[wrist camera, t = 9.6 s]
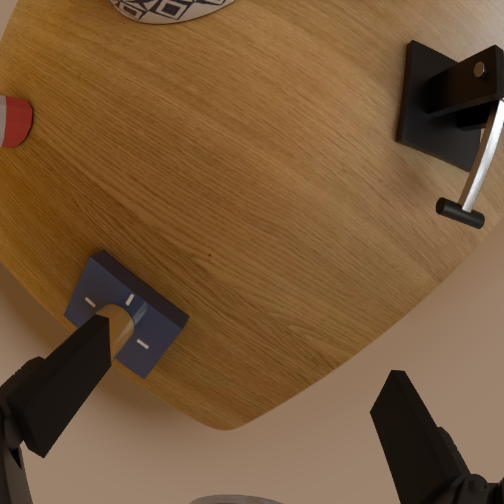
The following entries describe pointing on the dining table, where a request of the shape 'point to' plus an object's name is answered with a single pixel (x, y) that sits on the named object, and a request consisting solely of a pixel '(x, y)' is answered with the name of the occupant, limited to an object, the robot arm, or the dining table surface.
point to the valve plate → (134, 302)
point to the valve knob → (117, 327)
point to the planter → (167, 9)
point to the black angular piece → (448, 102)
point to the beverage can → (14, 120)
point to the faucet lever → (476, 173)
